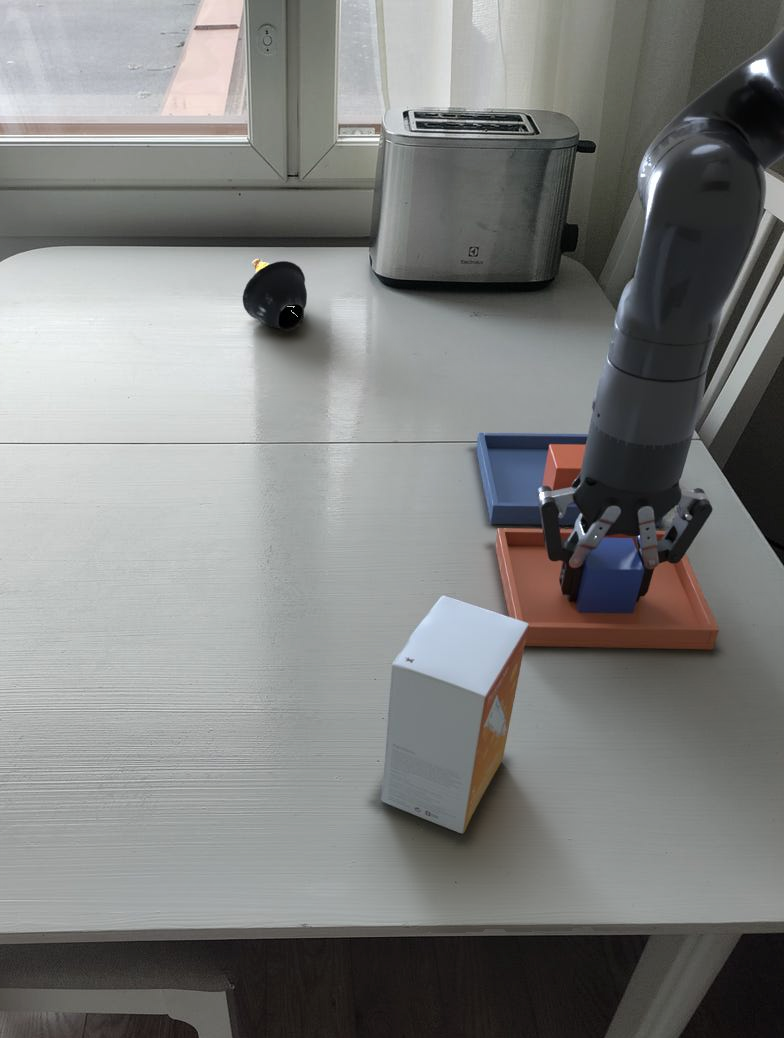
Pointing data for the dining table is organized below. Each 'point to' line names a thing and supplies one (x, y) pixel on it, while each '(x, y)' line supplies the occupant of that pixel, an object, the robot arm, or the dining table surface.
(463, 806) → the small box
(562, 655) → the dining table surface
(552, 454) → the clay block
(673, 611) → the clay tray
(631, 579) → the blue block
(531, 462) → the blue tray
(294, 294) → the fried shrimp in bowl
